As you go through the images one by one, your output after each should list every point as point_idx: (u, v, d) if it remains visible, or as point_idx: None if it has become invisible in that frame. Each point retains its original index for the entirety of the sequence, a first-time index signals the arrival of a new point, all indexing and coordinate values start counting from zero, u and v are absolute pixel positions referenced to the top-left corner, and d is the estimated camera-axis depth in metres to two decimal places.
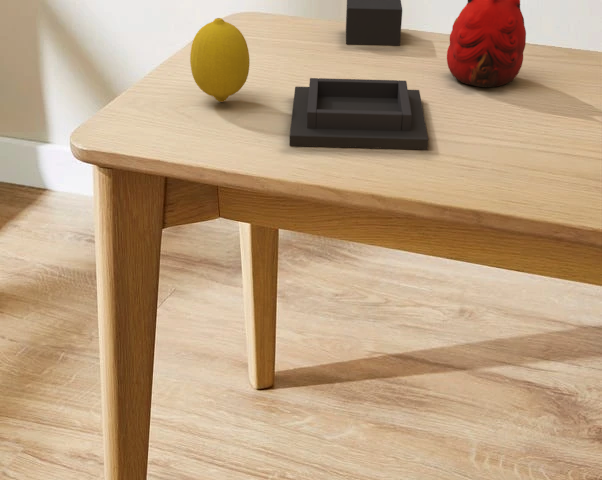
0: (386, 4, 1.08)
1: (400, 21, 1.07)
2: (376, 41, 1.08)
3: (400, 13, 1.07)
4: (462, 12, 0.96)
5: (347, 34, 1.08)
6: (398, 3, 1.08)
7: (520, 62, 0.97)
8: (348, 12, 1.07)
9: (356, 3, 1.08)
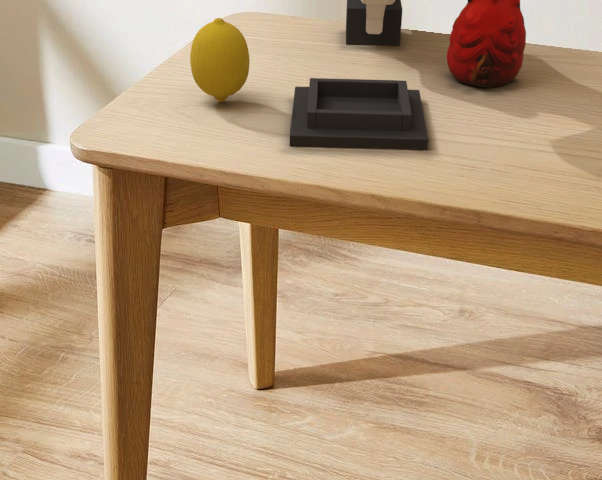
0: None
1: (400, 21, 1.07)
2: (376, 41, 1.08)
3: (400, 13, 1.07)
4: (462, 12, 0.96)
5: (347, 34, 1.08)
6: (398, 3, 1.08)
7: (520, 62, 0.97)
8: (348, 12, 1.07)
9: (356, 3, 1.08)
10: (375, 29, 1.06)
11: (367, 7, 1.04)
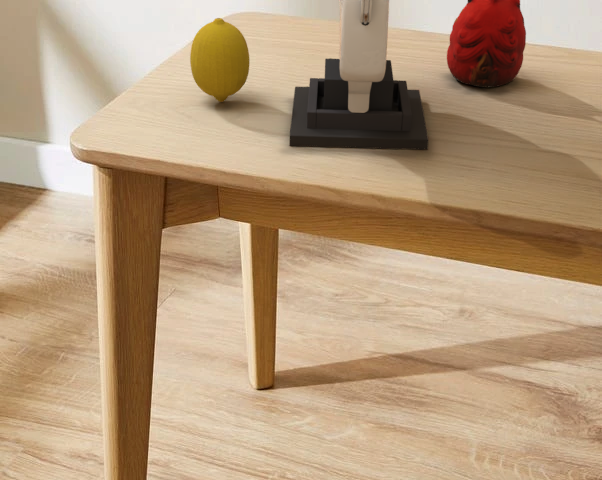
0: None
1: (391, 95, 0.85)
2: None
3: (391, 85, 0.85)
4: (462, 12, 0.96)
5: None
6: (389, 71, 0.87)
7: (520, 62, 0.97)
8: (326, 84, 0.85)
9: (336, 72, 0.86)
10: (360, 107, 0.85)
11: (349, 81, 0.82)
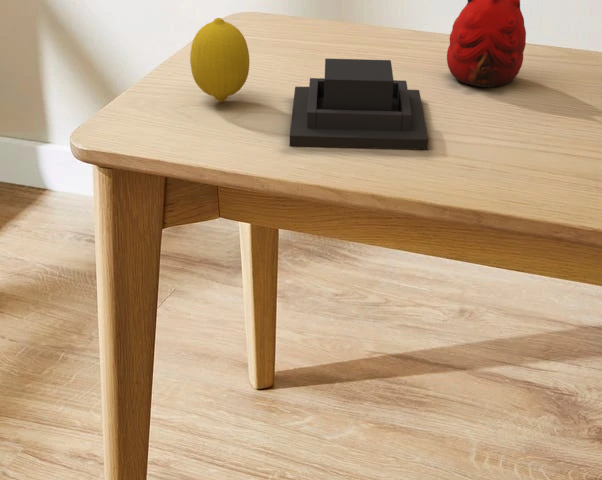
0: (373, 73, 0.86)
1: (391, 95, 0.85)
2: None
3: (391, 85, 0.85)
4: (462, 12, 0.96)
5: None
6: (389, 71, 0.87)
7: (520, 62, 0.97)
8: (326, 84, 0.85)
9: (336, 72, 0.86)
10: None
11: None
